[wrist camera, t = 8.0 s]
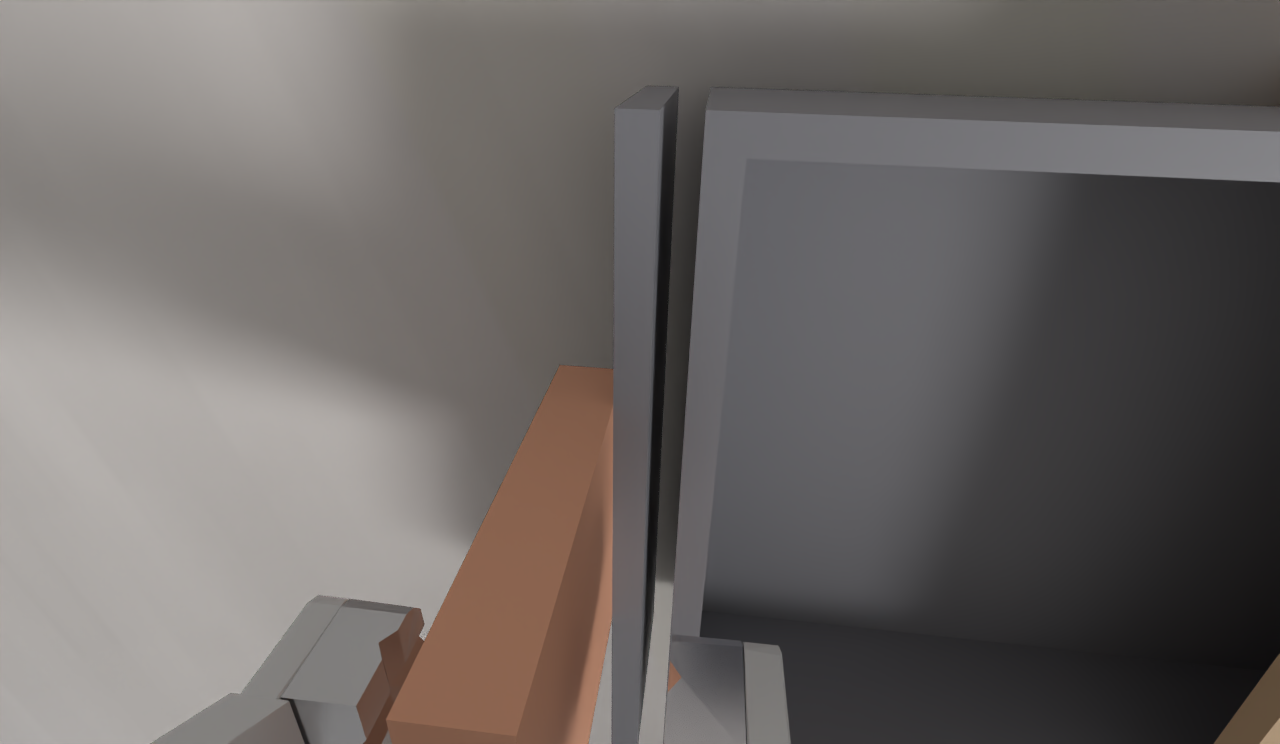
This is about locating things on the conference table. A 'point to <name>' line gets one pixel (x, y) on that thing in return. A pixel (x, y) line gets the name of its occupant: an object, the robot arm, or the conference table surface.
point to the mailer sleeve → (1257, 713)
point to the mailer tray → (908, 431)
